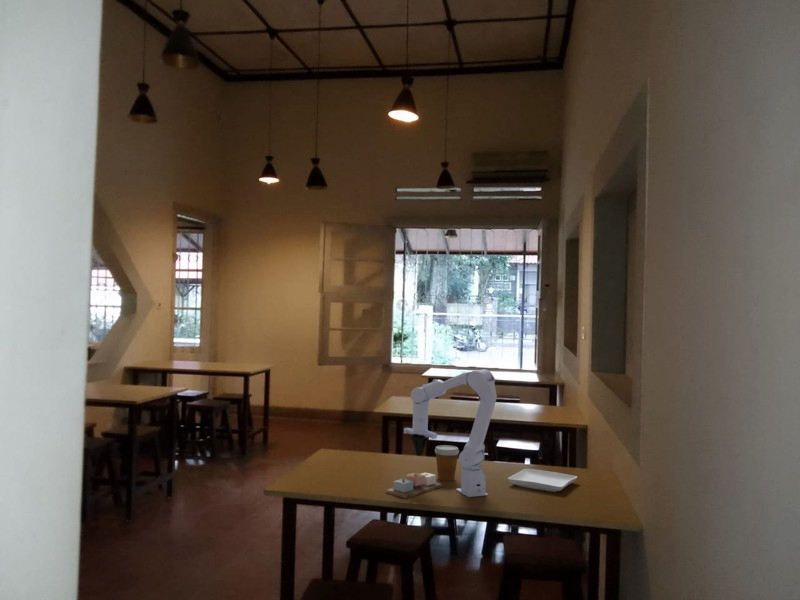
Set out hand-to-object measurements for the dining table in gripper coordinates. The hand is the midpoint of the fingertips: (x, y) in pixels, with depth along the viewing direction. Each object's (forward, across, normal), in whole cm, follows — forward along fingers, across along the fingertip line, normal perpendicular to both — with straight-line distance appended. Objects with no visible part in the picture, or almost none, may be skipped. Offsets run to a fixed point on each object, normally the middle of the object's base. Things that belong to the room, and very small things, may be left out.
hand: (419, 455), depth 237 cm
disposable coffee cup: (+11, +3, +13) cm, 17 cm away
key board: (+10, +5, -8) cm, 14 cm away
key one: (+9, +5, -2) cm, 11 cm away
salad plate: (+11, +34, +33) cm, 49 cm away
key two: (+8, +5, -8) cm, 13 cm away
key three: (+9, +5, -15) cm, 18 cm away
